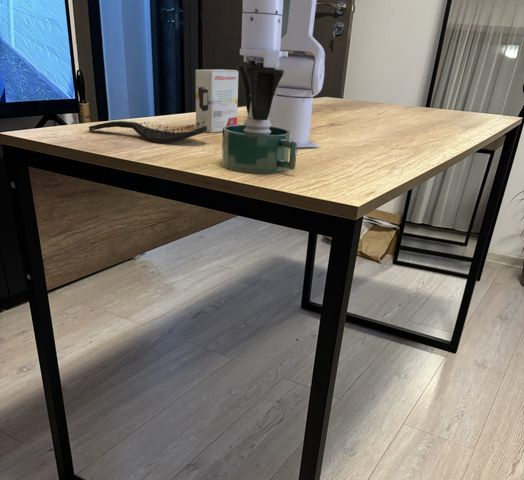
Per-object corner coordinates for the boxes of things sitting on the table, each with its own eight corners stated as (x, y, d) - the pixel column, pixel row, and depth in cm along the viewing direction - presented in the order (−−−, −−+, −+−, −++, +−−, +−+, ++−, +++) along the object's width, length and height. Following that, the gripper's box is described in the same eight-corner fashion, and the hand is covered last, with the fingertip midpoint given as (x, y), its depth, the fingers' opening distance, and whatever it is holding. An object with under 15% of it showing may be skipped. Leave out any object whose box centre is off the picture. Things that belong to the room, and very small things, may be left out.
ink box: (221, 126, 121) (223, 68, 115) (238, 130, 119) (240, 70, 113) (194, 129, 116) (194, 68, 110) (211, 133, 113) (211, 70, 107)
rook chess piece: (239, 134, 83) (241, 76, 79) (247, 130, 86) (249, 75, 82) (267, 137, 82) (270, 79, 78) (274, 133, 86) (277, 77, 82)
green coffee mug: (208, 163, 86) (208, 127, 83) (254, 157, 93) (256, 123, 90) (270, 180, 78) (272, 140, 76) (315, 172, 85) (319, 135, 82)
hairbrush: (100, 113, 109) (213, 118, 102) (102, 132, 111) (214, 139, 104) (75, 117, 102) (195, 124, 95) (78, 138, 104) (196, 145, 97)
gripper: (304, 15, 71) (295, 125, 78) (276, 17, 83) (271, 112, 90) (252, 11, 69) (247, 124, 76) (232, 14, 81) (229, 111, 88)
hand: (257, 117), depth 83 cm, fingers closed on rook chess piece, 3 cm apart
